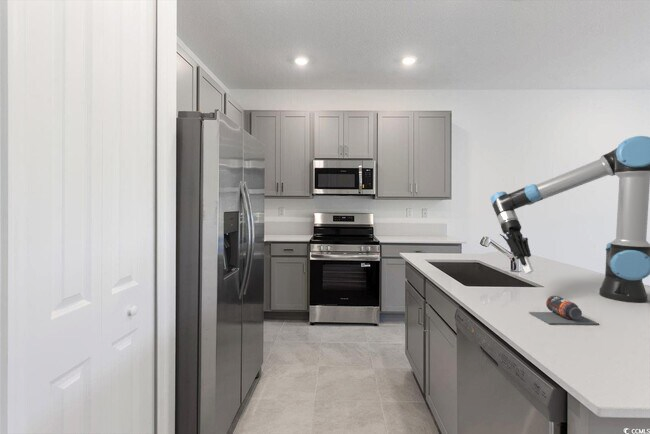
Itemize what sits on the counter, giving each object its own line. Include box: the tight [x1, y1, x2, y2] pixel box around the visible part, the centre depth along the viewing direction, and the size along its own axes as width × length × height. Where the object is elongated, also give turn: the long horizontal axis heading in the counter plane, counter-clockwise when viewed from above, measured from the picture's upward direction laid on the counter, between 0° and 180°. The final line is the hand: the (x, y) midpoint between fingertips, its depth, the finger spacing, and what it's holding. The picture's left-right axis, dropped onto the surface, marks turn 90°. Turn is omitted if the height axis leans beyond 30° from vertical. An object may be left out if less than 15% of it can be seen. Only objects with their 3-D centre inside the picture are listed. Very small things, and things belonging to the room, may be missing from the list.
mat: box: [528, 311, 600, 326], centre depth 113 cm, size 16×11×1 cm
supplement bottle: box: [545, 295, 583, 319], centre depth 113 cm, size 6×6×11 cm
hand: (529, 272), depth 135 cm, fingers closed
